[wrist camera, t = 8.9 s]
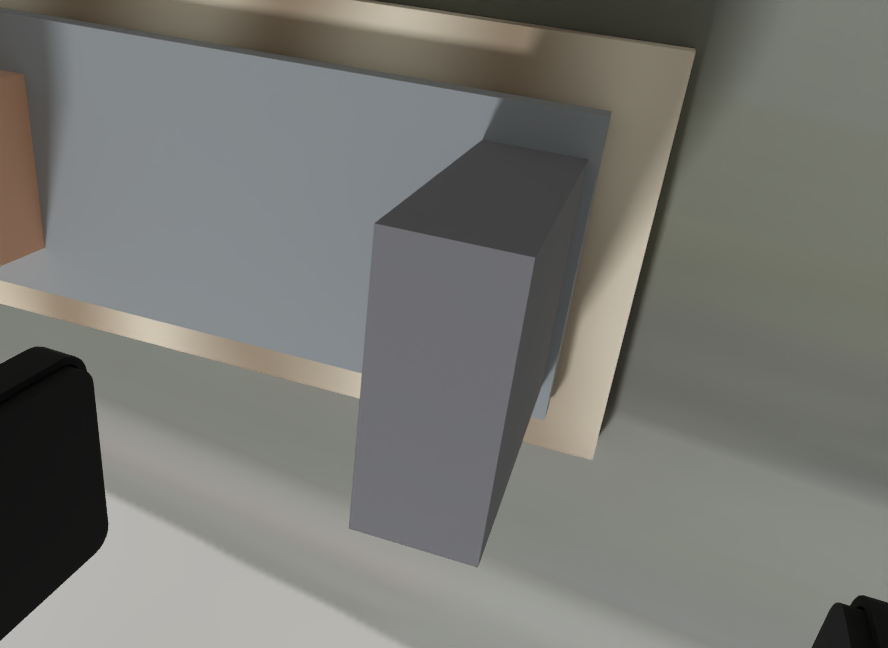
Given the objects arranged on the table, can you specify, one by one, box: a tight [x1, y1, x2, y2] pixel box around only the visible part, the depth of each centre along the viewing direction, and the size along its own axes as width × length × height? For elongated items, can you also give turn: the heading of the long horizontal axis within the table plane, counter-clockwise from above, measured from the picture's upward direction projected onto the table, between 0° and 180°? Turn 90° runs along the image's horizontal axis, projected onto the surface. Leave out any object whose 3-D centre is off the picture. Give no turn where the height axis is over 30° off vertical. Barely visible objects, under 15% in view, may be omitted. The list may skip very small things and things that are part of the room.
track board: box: [0, 0, 696, 460], centre depth 23 cm, size 33×11×1 cm, turn 83°
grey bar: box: [0, 7, 612, 567], centre depth 18 cm, size 22×8×8 cm, turn 83°
